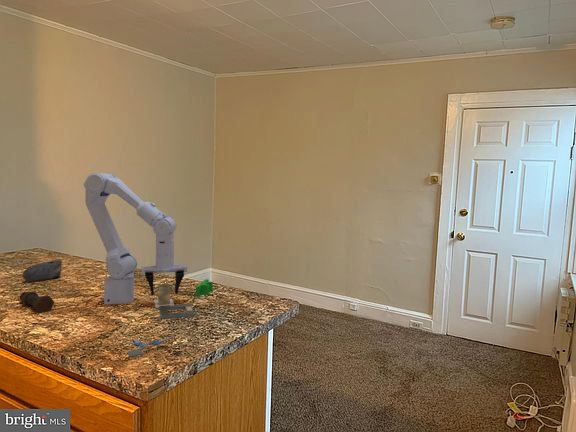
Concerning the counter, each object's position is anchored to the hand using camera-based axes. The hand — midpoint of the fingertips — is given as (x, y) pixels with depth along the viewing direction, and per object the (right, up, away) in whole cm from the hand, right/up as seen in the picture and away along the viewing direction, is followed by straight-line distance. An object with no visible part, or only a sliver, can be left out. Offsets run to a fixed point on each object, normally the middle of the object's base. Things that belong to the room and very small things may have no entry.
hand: (164, 293), depth 141 cm
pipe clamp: (+11, -3, +15) cm, 18 cm away
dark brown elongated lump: (-40, -3, -6) cm, 40 cm away
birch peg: (0, -3, 0) cm, 3 cm away
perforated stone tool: (-55, +1, +25) cm, 60 cm away
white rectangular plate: (0, -4, 0) cm, 4 cm away
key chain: (+3, -8, -31) cm, 32 cm away
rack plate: (+6, -5, -8) cm, 11 cm away
